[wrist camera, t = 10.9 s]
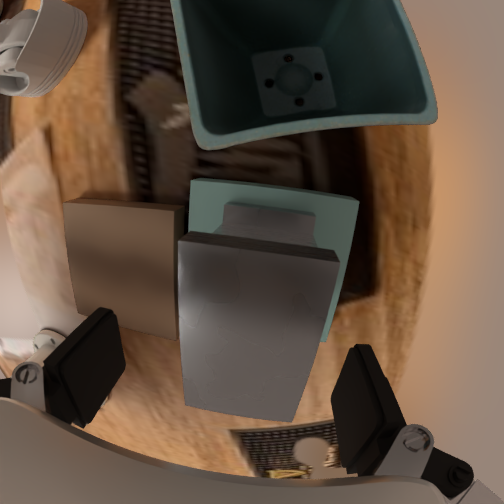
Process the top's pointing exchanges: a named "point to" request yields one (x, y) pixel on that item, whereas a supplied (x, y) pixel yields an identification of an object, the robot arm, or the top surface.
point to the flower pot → (298, 67)
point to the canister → (1, 6)
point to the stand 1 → (126, 261)
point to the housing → (252, 310)
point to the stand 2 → (322, 204)
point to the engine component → (40, 47)
